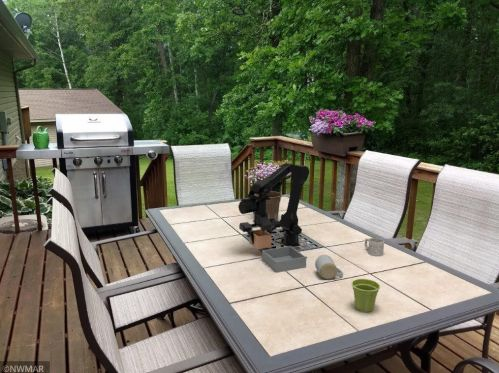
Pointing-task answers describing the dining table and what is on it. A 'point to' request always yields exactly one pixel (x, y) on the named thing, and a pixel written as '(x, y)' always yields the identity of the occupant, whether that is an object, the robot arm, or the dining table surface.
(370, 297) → the plant pot
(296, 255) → the big crate
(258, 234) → the small crate
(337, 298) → the dining table surface
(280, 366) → the dining table surface
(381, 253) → the mug
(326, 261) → the ceramic mug
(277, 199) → the plant pot
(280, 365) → the dining table surface
